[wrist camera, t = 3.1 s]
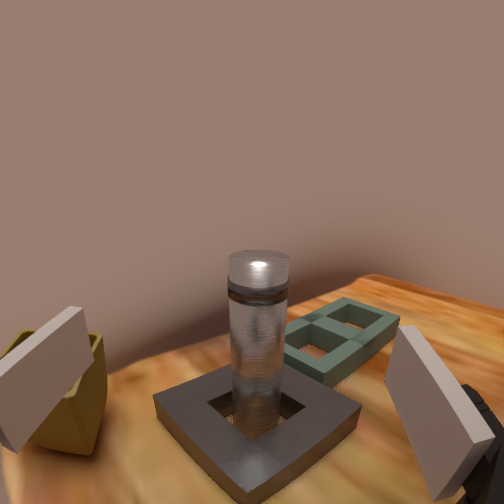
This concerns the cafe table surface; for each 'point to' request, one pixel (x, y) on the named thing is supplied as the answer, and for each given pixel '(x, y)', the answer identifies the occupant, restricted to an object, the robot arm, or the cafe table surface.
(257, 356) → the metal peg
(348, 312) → the frame
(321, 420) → the socket block
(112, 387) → the cafe table surface
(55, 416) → the flower pot
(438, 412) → the robot arm
